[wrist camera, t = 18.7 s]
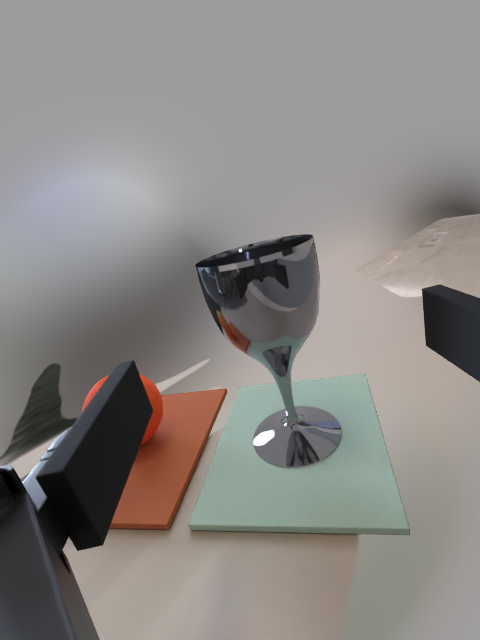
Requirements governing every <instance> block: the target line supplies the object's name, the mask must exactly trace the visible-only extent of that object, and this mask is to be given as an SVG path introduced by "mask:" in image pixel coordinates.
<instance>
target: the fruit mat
mask: <svg viewBox="0 0 480 640" xmlns="http://www.w3.org/2000/svg"><path fill="white" fill-rule="evenodd" d="M226 394H227V389H217V390H207V391H198V392H189V393H179V394H170V395H161V397H162V401H163V415H162V420H161V422H160V425H159V427H158V429H157V431H156V432H155V433H154V435H153V436H152V437H151V438H150V439H149V440H148V441H147V442H146V443H144V444H143V445H141V446H140V448H139V450H138V453H137V456H136V458H135V461H134V464H133V466H132V469H131V472H130V474H129V477H128V480H127V482H126V485H125V488H124V490H123V493H122V496H121V498H120V501H119V504H118V506H117V509H116V512H115V514H114V517H113V520H112V522H111V525H110V528H126V529H169V528H170V526H171V524H172V521H173V519H174V517H175V514H176V512H177V510H178V507H179V505H180V502H181V500H182V498H183V495H184V493H185V491H186V488H187V486H188V484H189V481H190V479H191V477H192V474H193V472H194V469H195V467H196V465H197V462H198V460H199V458H200V455H201V453H202V451H203V448H204V446H205V444H206V441H207V439H208V436H209V434H210V432H211V429H212V427H213V425H214V422H215V420H216V418H217V415H218V413H219V410H220V408H221V406H222V403H223V401H224V399H225V396H226Z"/></svg>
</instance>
